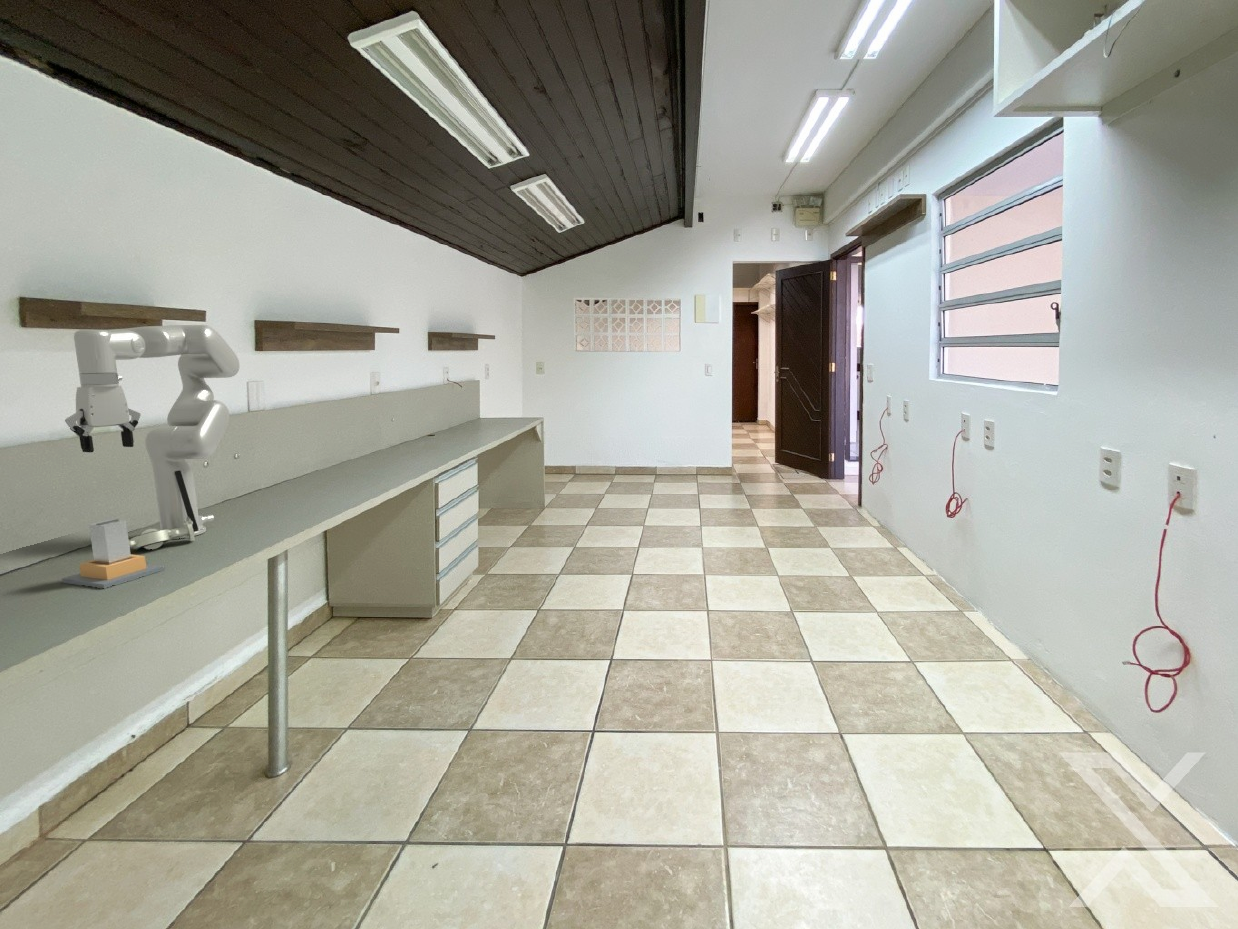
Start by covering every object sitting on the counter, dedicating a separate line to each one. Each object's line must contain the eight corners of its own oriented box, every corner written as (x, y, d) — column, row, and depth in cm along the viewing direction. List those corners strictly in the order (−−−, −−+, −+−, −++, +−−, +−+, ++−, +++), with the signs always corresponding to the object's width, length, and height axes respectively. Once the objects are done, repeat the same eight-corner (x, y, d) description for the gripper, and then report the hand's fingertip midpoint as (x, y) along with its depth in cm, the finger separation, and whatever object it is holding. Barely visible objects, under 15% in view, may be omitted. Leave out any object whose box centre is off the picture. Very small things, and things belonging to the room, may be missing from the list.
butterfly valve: (129, 555, 175) (204, 536, 187) (107, 481, 175) (183, 467, 187) (125, 558, 182) (198, 540, 193) (104, 487, 182) (178, 473, 193)
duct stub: (117, 567, 163) (111, 518, 161) (132, 569, 161) (125, 519, 159) (96, 574, 158) (88, 523, 156) (111, 576, 157) (103, 524, 155)
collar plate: (124, 564, 169) (122, 549, 168) (164, 570, 164) (162, 554, 164) (62, 582, 156) (59, 565, 155) (104, 588, 151) (101, 571, 151)
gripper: (124, 379, 177) (132, 444, 179) (50, 382, 161) (60, 453, 163) (144, 379, 174) (153, 445, 177) (71, 382, 158) (81, 454, 161)
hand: (108, 449), depth 170 cm, fingers open, 9 cm apart
